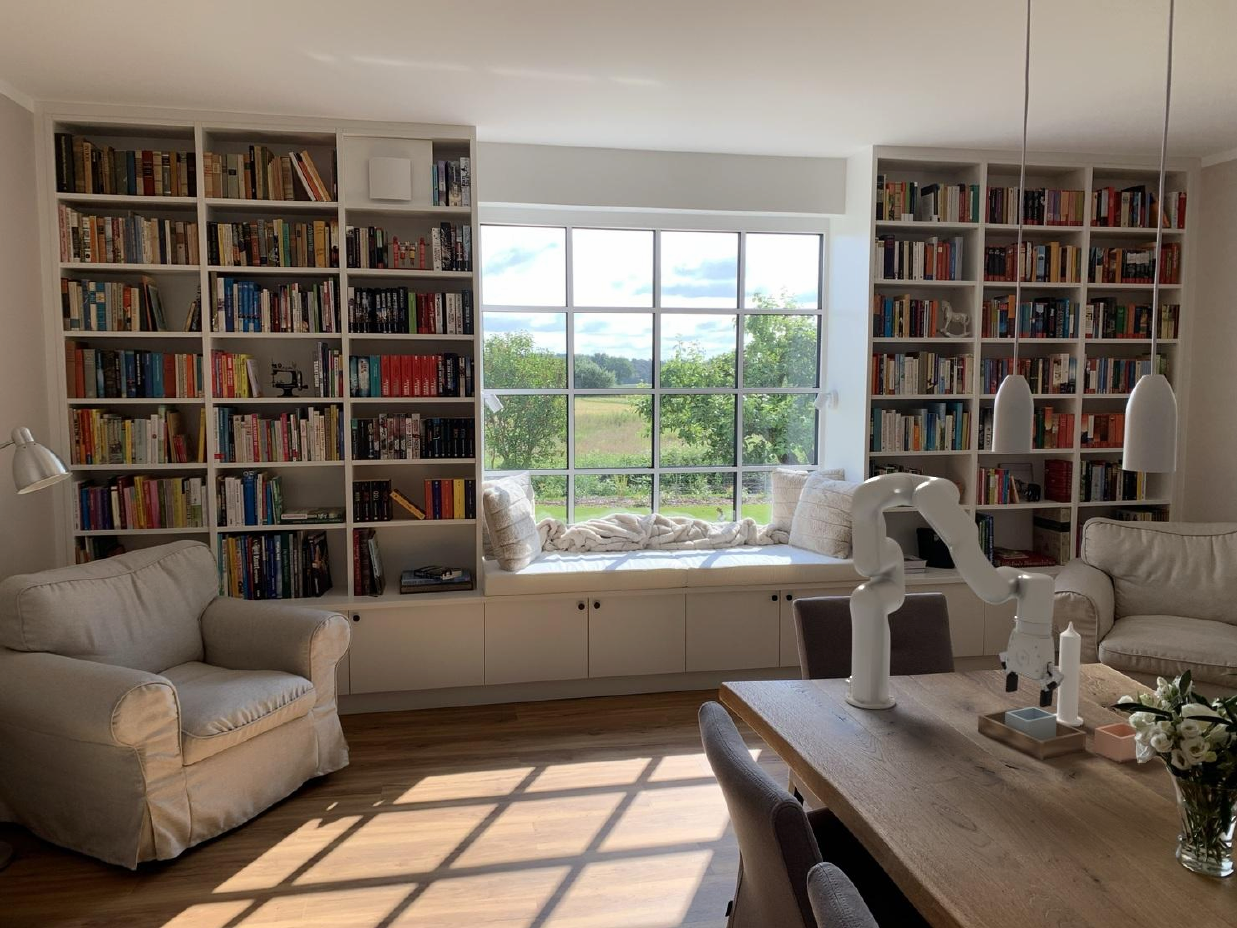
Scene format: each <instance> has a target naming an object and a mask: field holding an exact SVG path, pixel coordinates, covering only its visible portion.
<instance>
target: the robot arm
mask: <svg viewBox="0 0 1237 928" xmlns="http://www.w3.org/2000/svg"><path fill="white" fill-rule="evenodd" d="M960 498H961V493H960V490H959V488H958V486H957V485H956V484H955V482H953V481H952V480H950V479H946V478H943V477H935V476H929V475H922V474H921V475H920V474H916V473H915V474H914V473H909V472H894V473H888V474H887V473H886V474H881V475H877V476H873V477H871V478H869V479H867V480H865V481H864V482H862V483H861V484H859V486H857V487H856V489H855V490H854V491H853V494H852V496H851V501H850V515H851V516H850V517H851V536H852V537H851V538H852V539H851V541H852V557H853V558H852V560H853V561H852V562H853V567H854V569H855V571H856V573H858V574H859V575H860V576H862V577H864V578H870V581H866V582H864V583H861V584H860V585H858V586H857V587H855V589H854V590H853V592H852V593H851V595H850V598H849V609H850V610H849V611H850V615H851V616H850V617H851V626H852V627H851V629H852V631H851V634H852V635H851V636H852V638H851V640H852V641H851V643H852V644H851V647H852V648H851V649H852V650H851V676H849V677H848V679H845V680H844V684H845V685H846V686H848V687H849V690H848V691H847V692H845V695H844V699H845V702H847V703H848V704H850V705H852V706H855V707H857V708H862V709H868V710H885V709H889V708H892V707H893V706H894V705H895V704H896V698H895V697H894V696H893V695H892V694H890V670H891V669H890V667H891V664H890V663H891V631H890V630H891V629H890V624H889V620H888V615H889V614H892V613H894V612H895V611H897V610H899V609H900V608H901V607H902V605H903V603H904V602H905V597H906V582H905V581H906V580H905V557H904V553H903V550H902V548H901V546H900V544H899V543H898V542H897V541H896V540H894V539H893V538H892V537H888V536H887V524H886V519H885V516H884V514H883V513H884V511H885V510H886V509H889V508H894V507H899V506H909V507H913V508H914V507H915V508H916V510H917V511H918V512H919V513H920V514H921V516H922V517H923V518H924V519H925V521H926V522H927V524H929V525H930V527H932V528H931V529H933V530H934V532H935V533H936V534H937V535H938V536H939V538H940V539H941V540H942V542H943V543H944V544H945V546H947V548H948V550H949V554H950V557H951V559H952V561H953V564H954V565H955V566H954V567H956V570H957V571H958V574H959V575H960V576H961V577H962V579H963V580H964V581H965V583H966V584H967V585H968V586H969V587H970V589H971V590H972V591H973V592H974V593H975V595H977V596H978V598H980V599H981V600H982V601H984V602H985V603H987V604H990V605H1000V604H1003V603H1005V602H1008V601H1009V600H1013V599H1017V606H1016V607H1017V608H1016V616H1014V617H1013V622H1015V627H1014V628H1012V629H1011V632H1010V633H1011V634H1010V636H1009V640H1008V644H1007V650H1006V651H1002V652H999V654H998V655H999V659H1000V661H1001V663H1000V664H1001V666H1002V668H1003V670H1004V671H1003V672H1004V675H1005V676H1006V677H1005V678H1006V679H1005V692H1006V693H1013V692H1017V691H1018V686H1019V685H1018V684H1019V675H1020V676H1022V677H1025V678H1027V679H1030V680H1033V681H1036V682H1037V681H1039V684H1040V685H1041V688H1042V689H1040V691H1039V693H1040V694H1039V705H1038V706H1039V707H1040V708H1046V707H1052V704H1053V696H1054V691H1055V690H1056V689H1058V687H1059V686H1060V685H1061V682H1062V681H1063V679H1064V675H1063V674H1062V673H1061V672H1060V671H1059V668H1057V667H1056V666H1055V660H1056V658H1055V657H1056V656H1055V644H1054V642H1055V641H1054V637H1053V636H1052V631H1053V619H1054V618H1053V617H1054V607H1055V606H1054V604H1055V595H1056V581H1055V578H1054V577H1053V576H1051V575H1048V574H1046V573H1045V574H1044V573H1038V572H1028V571H1024V570H1021V569H1019V568H1016V567H1013V566H1012V567H1011V566H1007V565H1006V566H1005V565H1004V566H999V567H996V568H995V567H994V565H993V564H992V563H991V562H990V560H989V559H988V558H987V557H986V555H985V553H984V552H983V550H982V548H981V546H980V541H979V526H978V525H977V523H976V522H975V521H974V520H973V518H971V516H970V515H969V514H968V513H967V512H966V511H965V510H964V508H963V507H962V506H961V505H960V501H961V500H960Z"/></svg>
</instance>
